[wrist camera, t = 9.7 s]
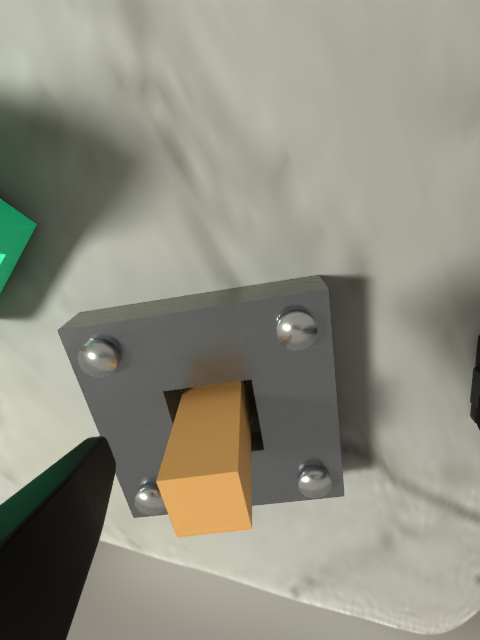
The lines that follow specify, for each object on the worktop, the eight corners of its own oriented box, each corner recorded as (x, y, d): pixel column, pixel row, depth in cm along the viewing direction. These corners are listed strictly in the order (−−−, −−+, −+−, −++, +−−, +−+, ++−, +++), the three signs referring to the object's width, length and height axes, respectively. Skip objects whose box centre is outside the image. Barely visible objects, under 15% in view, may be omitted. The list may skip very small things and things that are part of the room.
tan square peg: (241, 370, 22) (237, 471, 14) (250, 415, 23) (251, 529, 16) (186, 378, 22) (156, 481, 15) (199, 422, 23) (176, 537, 16)
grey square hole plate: (319, 275, 19) (331, 292, 16) (335, 465, 25) (346, 504, 22) (78, 312, 20) (51, 335, 18) (144, 486, 26) (130, 526, 23)
